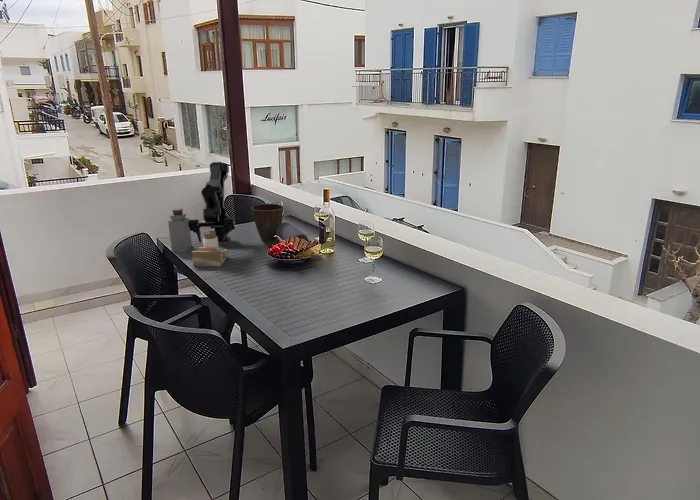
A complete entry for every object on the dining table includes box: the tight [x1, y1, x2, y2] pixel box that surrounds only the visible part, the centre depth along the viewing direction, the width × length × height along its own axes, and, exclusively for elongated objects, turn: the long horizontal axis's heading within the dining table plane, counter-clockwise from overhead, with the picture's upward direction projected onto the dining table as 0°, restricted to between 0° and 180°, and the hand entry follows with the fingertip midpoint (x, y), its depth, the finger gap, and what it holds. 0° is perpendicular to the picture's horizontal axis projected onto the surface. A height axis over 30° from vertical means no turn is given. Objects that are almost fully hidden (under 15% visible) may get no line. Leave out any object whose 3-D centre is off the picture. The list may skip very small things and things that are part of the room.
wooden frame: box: [191, 248, 229, 267], centre depth 194 cm, size 12×11×6 cm
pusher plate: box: [198, 246, 218, 251], centre depth 192 cm, size 1×7×6 cm, turn 88°
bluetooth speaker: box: [276, 221, 310, 243], centre depth 211 cm, size 23×9×10 cm, turn 25°
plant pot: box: [251, 203, 284, 242], centre depth 223 cm, size 15×15×16 cm
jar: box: [202, 230, 220, 251], centre depth 194 cm, size 6×6×12 cm
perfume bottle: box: [167, 208, 193, 251], centre depth 210 cm, size 7×7×18 cm
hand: (211, 242), depth 196 cm, fingers open, 9 cm apart
